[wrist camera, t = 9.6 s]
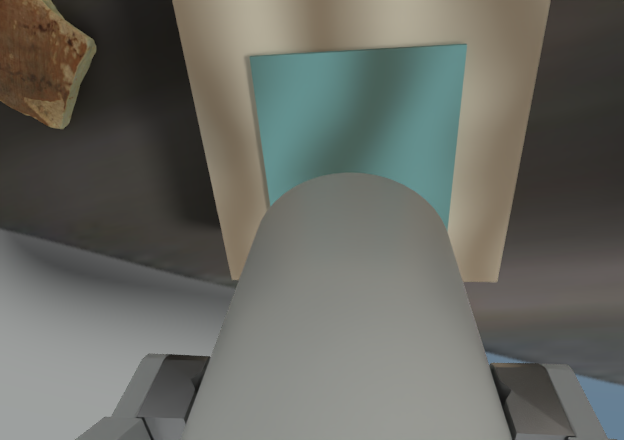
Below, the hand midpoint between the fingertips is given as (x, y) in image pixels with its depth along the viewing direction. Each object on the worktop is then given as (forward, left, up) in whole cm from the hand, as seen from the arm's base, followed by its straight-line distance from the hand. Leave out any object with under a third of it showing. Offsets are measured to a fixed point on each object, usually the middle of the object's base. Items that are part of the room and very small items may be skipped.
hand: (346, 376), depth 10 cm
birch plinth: (0, 0, -18) cm, 18 cm away
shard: (+20, -4, -19) cm, 28 cm away
